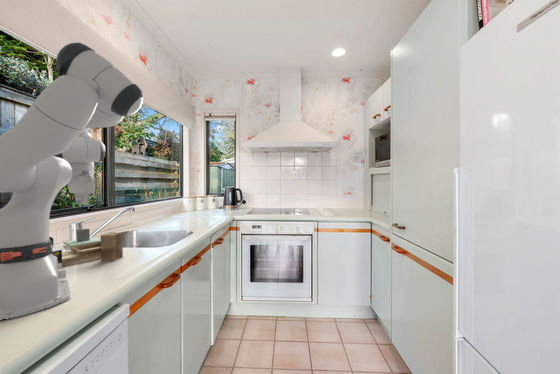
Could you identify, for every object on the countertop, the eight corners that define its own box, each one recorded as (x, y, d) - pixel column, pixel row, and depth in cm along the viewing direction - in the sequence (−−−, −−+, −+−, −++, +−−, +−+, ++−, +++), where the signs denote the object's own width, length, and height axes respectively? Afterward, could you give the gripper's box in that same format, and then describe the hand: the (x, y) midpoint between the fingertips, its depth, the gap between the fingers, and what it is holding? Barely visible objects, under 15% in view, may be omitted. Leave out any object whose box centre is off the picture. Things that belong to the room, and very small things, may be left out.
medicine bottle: (39, 275, 84) (38, 239, 83) (24, 273, 85) (22, 238, 85) (62, 268, 90) (61, 235, 90) (48, 266, 92) (46, 234, 92)
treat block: (113, 261, 97) (112, 235, 97) (101, 260, 97) (100, 235, 97) (122, 257, 102) (122, 232, 101) (111, 256, 102) (110, 232, 102)
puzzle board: (113, 255, 104) (113, 246, 104) (56, 268, 89) (55, 256, 89) (102, 250, 111) (102, 241, 111) (47, 261, 97) (47, 251, 96)
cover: (102, 241, 110) (102, 228, 110) (71, 247, 102) (70, 233, 101) (93, 238, 117) (93, 226, 117) (63, 243, 108) (63, 230, 108)
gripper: (99, 170, 100) (100, 205, 101) (82, 172, 113) (83, 202, 113) (79, 170, 95) (80, 206, 96) (64, 171, 108) (65, 203, 108)
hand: (82, 204), depth 105 cm, fingers open, 6 cm apart
